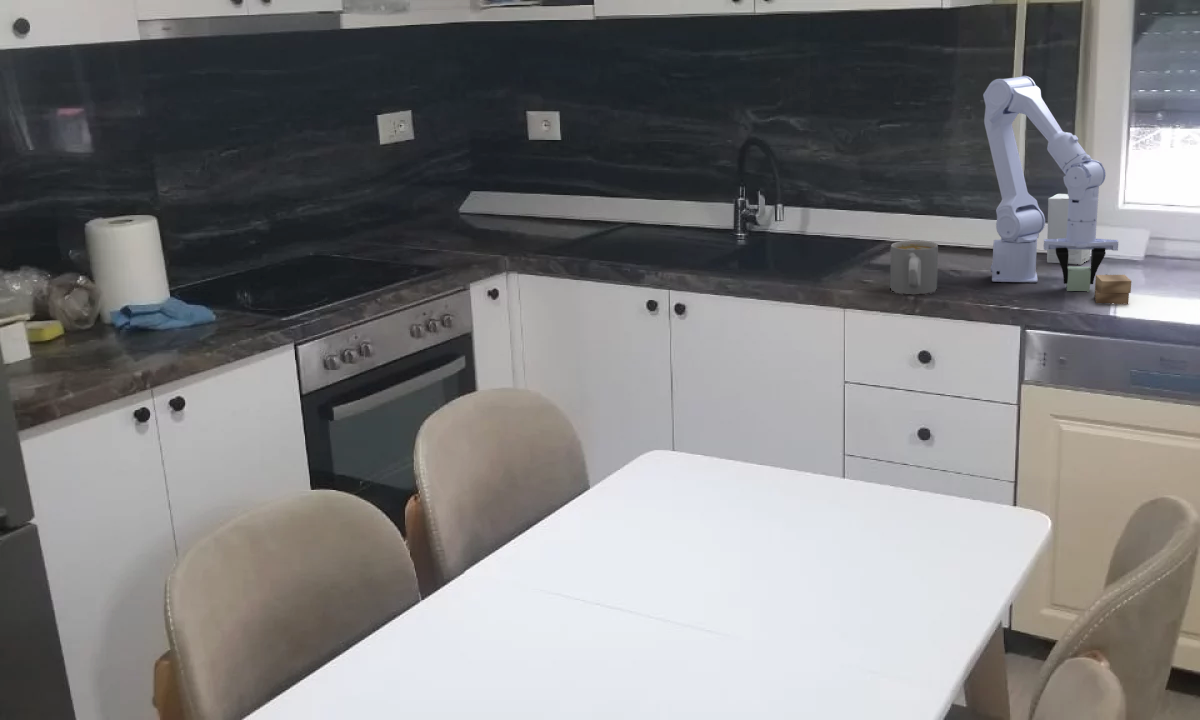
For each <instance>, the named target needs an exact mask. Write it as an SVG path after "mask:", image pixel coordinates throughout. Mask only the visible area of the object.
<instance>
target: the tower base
mask: <svg viewBox="0 0 1200 720" xmlns="http://www.w3.org/2000/svg"><path fill="white" fill-rule="evenodd" d="M1094 296H1095V297H1094V300H1096V301H1095V304H1096V303H1110V304H1109V305H1129V298H1130V293H1100V292H1099V291H1098V289H1097V288H1096V287H1095V286H1094ZM1112 303H1114V304H1112Z"/></svg>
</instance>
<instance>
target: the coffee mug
mask: <svg viewBox="0 0 1200 720" xmlns="http://www.w3.org/2000/svg"><path fill="white" fill-rule="evenodd" d="M938 256H939V245H938V243H936V242H932V241H927V240H903V241H897V242H893V243H892V244H890V272H889V273H890V274H889V278H890V279H889V280H890V281H889V282H890V284H889V286H890V287H889V289H890V288H891V289H892V290H893V291H896V292H898V293H906V294H919V293H928V292H932V291H935V290H936V289H937V290H938V263H939V262H938Z"/></svg>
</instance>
